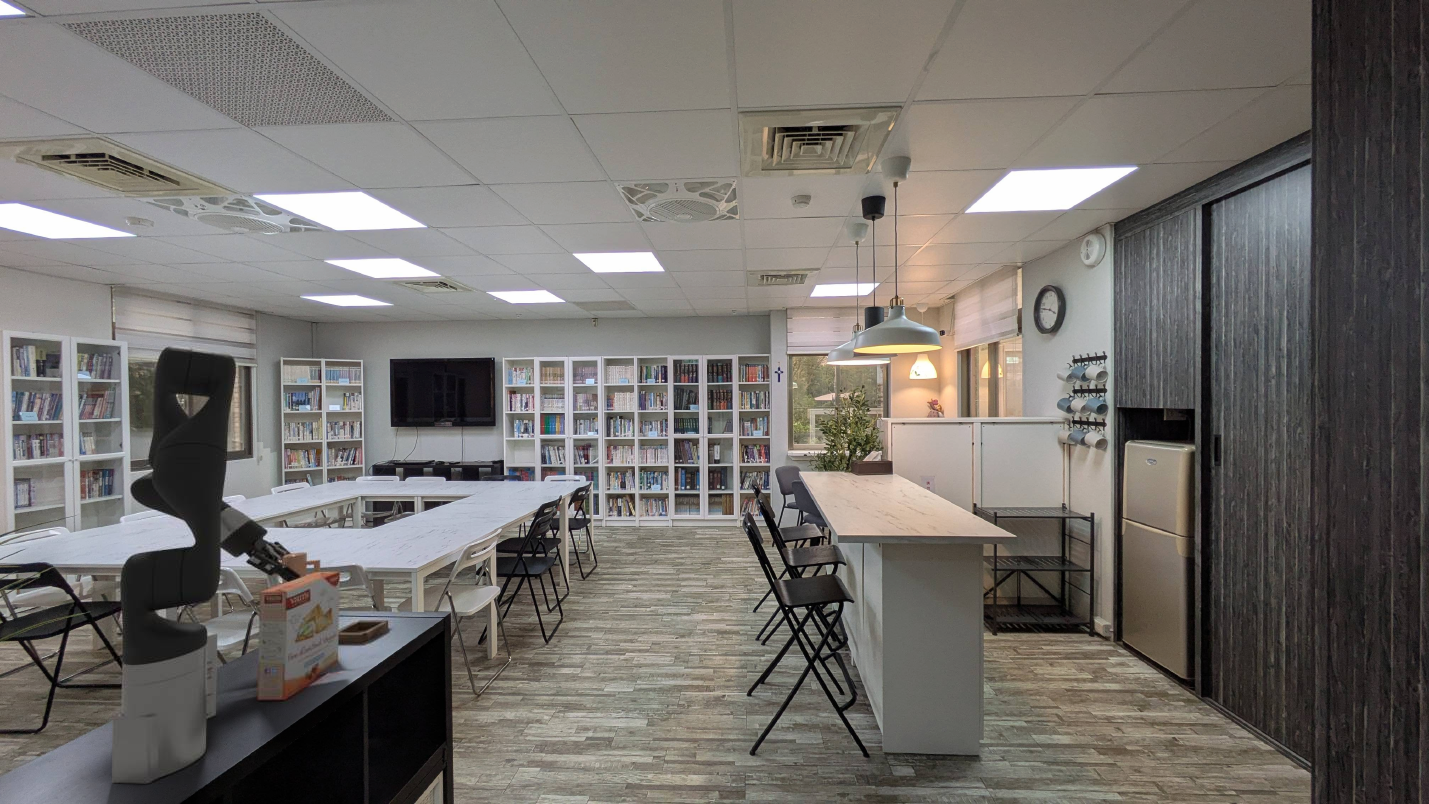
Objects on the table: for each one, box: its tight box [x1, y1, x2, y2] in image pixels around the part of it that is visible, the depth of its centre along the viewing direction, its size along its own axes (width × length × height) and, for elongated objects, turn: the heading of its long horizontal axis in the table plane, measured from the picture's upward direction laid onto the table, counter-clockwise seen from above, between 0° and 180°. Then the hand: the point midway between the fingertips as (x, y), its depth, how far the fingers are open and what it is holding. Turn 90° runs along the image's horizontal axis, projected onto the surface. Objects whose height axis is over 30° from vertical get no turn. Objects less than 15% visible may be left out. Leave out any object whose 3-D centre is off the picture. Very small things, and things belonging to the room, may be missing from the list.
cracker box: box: [256, 571, 341, 701], centre depth 106 cm, size 14×6×21 cm, turn 179°
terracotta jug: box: [281, 552, 321, 584], centre depth 122 cm, size 4×7×9 cm, turn 113°
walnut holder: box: [338, 619, 393, 645], centre depth 126 cm, size 10×10×4 cm
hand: (299, 577), depth 122 cm, fingers closed on terracotta jug, 4 cm apart
